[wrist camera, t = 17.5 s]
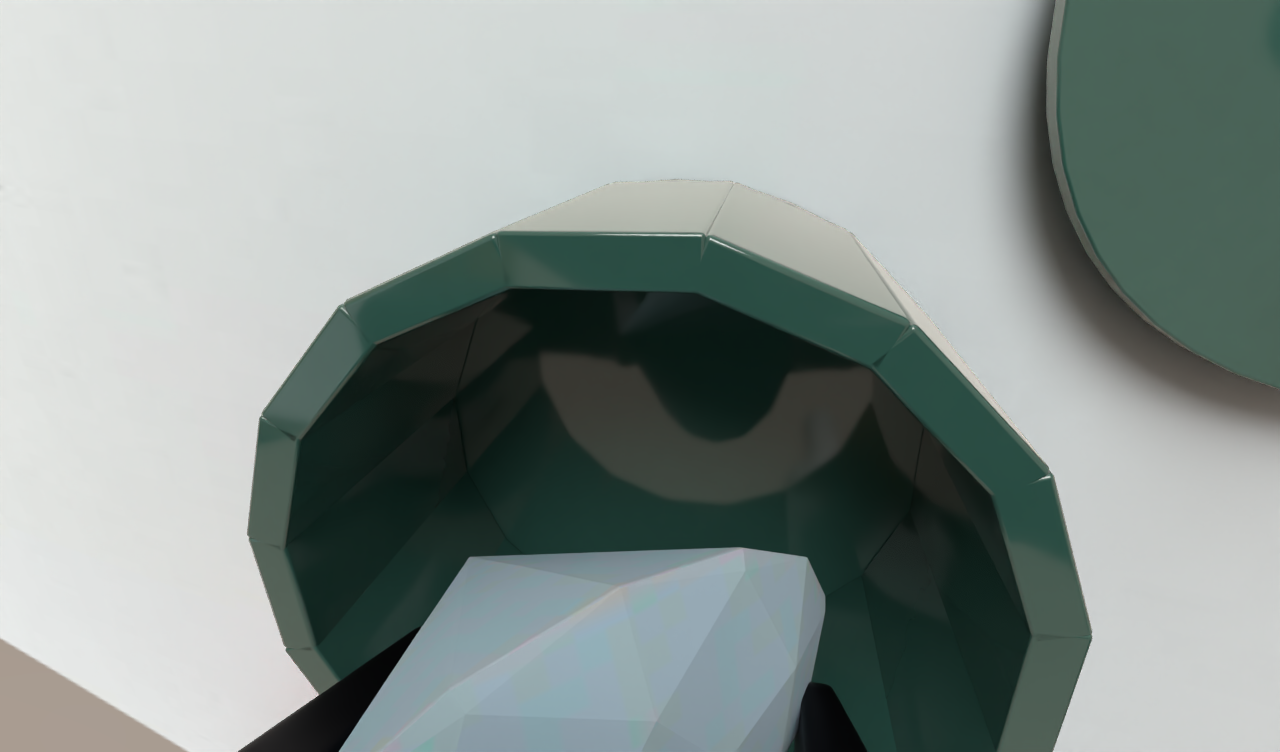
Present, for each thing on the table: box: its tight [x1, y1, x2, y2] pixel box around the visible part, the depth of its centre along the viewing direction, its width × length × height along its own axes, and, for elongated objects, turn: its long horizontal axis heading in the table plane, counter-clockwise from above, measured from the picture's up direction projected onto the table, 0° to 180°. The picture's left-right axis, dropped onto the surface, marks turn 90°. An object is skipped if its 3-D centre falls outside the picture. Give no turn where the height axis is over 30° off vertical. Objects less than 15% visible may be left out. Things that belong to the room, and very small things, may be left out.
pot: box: [247, 179, 1092, 752], centre depth 12 cm, size 12×12×6 cm
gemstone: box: [339, 547, 825, 752], centre depth 8 cm, size 8×8×5 cm
